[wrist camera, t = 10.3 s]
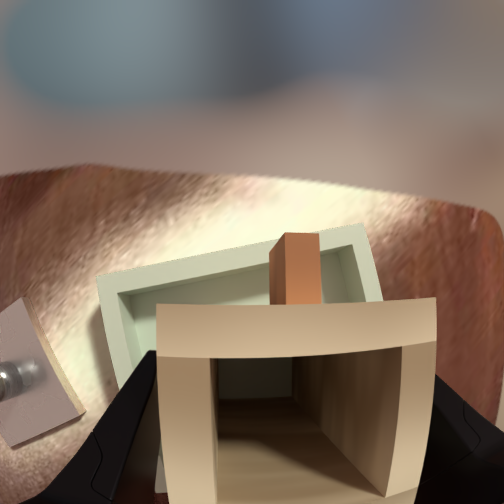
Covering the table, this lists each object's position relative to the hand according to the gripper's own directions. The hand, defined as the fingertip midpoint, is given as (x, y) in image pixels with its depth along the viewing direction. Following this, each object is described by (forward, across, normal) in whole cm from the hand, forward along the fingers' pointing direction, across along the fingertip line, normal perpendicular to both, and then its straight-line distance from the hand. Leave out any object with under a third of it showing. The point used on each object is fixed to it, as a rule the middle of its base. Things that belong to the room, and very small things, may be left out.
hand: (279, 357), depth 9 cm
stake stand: (+3, +16, +8) cm, 18 cm away
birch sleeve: (+4, 0, +6) cm, 7 cm away
